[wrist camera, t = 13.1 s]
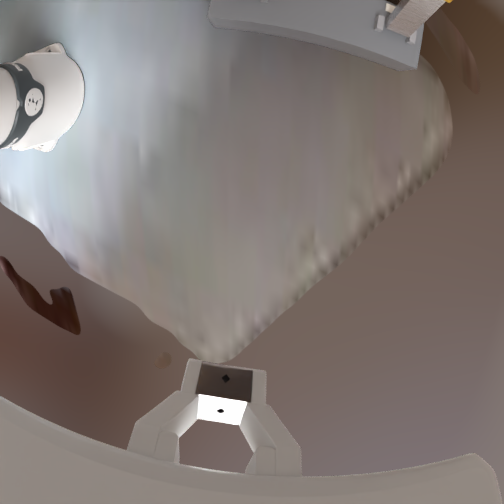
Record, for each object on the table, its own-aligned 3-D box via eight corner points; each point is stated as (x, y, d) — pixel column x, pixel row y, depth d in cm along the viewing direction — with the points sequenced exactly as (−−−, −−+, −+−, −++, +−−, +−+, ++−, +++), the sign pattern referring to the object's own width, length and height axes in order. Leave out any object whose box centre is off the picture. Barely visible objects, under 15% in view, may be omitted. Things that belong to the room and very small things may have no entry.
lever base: (214, 27, 32) (204, 15, 26) (226, -22, 28) (218, -41, 22) (398, 71, 34) (420, 68, 27) (406, 23, 30) (429, 14, 23)
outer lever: (384, 28, 25) (425, -22, 15) (383, 17, 25) (422, -33, 14) (410, 39, 25) (457, -5, 15) (410, 28, 25) (453, -16, 15)
